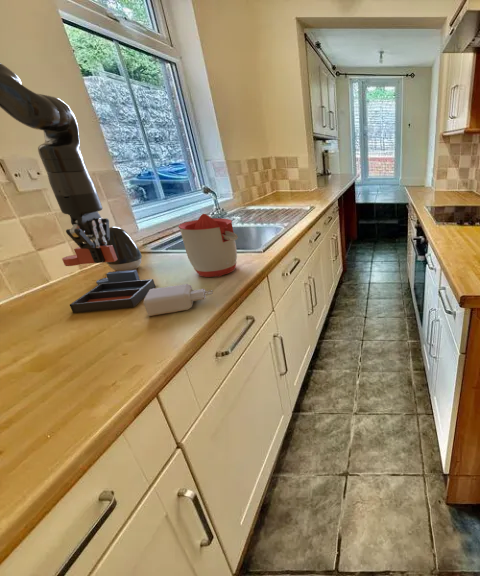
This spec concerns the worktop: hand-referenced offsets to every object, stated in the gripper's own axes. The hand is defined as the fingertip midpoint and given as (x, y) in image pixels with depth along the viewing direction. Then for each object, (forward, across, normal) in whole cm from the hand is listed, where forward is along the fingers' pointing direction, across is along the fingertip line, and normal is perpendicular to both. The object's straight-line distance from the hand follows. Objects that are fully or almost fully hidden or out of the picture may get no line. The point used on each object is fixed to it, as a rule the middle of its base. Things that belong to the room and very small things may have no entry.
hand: (102, 260), depth 82 cm
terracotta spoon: (0, 0, -3) cm, 3 cm away
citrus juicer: (+13, -21, +21) cm, 32 cm away
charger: (+13, +4, +17) cm, 22 cm away
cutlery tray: (+13, -5, -3) cm, 14 cm away
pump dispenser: (+13, -32, -12) cm, 36 cm away
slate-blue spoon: (+13, -17, -8) cm, 22 cm away
